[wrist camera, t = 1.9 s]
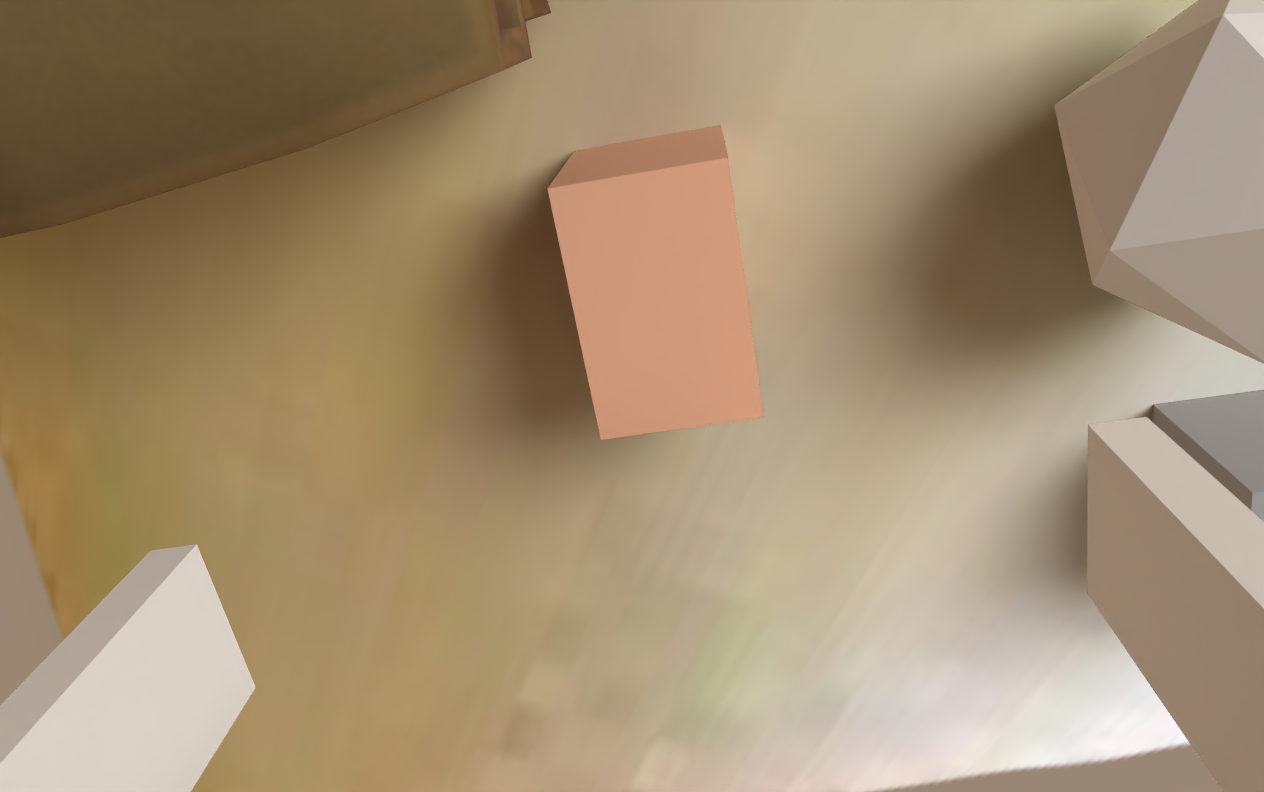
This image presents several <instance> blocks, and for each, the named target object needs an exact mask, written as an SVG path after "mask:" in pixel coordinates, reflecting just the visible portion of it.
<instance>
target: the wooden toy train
mask: <svg viewBox="0 0 1264 792" xmlns="http://www.w3.org/2000/svg"><path fill="white" fill-rule="evenodd" d="M549 13H551V11H550V8H549V5H548V1H547V0H0V238H2V237H6V236H11V235H15V234H20V233H24V232H29V231H33V230H38V229H43V228H47V227H52V226H56V225H61V224H65V223H68V222H71V221H74V220H77V219H81V218H84V217H87V216H90V215H93V214H97V213H100V212H103V211H106V210H110V209H113V208H116V207H119V206H122V205H126V204H129V203H132V202H135V201H139V200H142V199H145V198H148V197H151V196H155V195H158V194H161V193H164V192H167V191H171V190H174V189H177V188H180V187H184V186H187V185H190V184H193V183H196V182H200V181H203V180H206V179H209V178H213V177H216V176H219V175H222V174H225V173H229V172H232V171H235V170H238V169H241V168H245V167H248V166H251V165H254V164H258V163H261V162H264V161H267V160H270V159H274V158H277V157H280V156H283V155H287V154H290V153H293V152H296V151H299V150H303V149H306V148H308V147H311V146H313V145H316V144H318V143H321V142H323V141H326V140H328V139H331V138H333V137H336V136H339V135H341V134H344V133H346V132H349V131H351V130H354V129H356V128H359V127H361V126H364V125H366V124H369V123H371V122H374V121H376V120H379V119H381V118H384V117H386V116H389V115H391V114H394V113H396V112H399V111H402V110H404V109H407V108H409V107H412V106H414V105H417V104H419V103H422V102H424V101H427V100H429V99H432V98H434V97H437V96H439V95H442V94H444V93H447V92H449V91H452V90H454V89H457V88H460V87H462V86H465V85H467V84H470V83H472V82H475V81H477V80H480V79H482V78H485V77H487V76H490V75H492V74H495V73H497V72H500V71H502V70H505V69H507V68H509V67H512V66H514V65H516V64H518V63H521V62H523V61H525V60H528V59H530V58H532V56H531V51H530V45H529V40H528V34H527V29H526V23H525V21H527V20H530V19H533V18H536V17H540V16H543V15H546V14H549Z"/></svg>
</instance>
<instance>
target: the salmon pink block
mask: <svg viewBox="0 0 1264 792" xmlns="http://www.w3.org/2000/svg"><path fill="white" fill-rule="evenodd" d="M547 189H548V194H549V199H550V203H551V208H552V213H553V217H554V222H555V227H556V231H557V236H558V241H559V246H560V250H561V255H562V260H563V264H564V269H565V274H566V278H567V283H568V288H569V293H570V297H571V302H572V307H573V311H574V316H575V321H576V325H577V330H578V335H579V339H580V344H581V349H582V354H583V358H584V363H585V368H586V372H587V377H588V382H589V386H590V391H591V396H592V401H593V405H594V410H595V415H596V419H597V424H598V429H599V433H600V438H601V440H604V439H611V438H618V437H626V436H633V435H640V434H647V433H655V432H662V431H669V430H676V429H684V428H691V427H698V426H706V425H713V424H720V423H727V422H735V421H742V420H749V419H757V418H764V416H763V409H762V401H761V394H760V387H759V379H758V372H757V365H756V357H755V350H754V343H753V335H752V328H751V321H750V313H749V306H748V299H747V292H746V284H745V277H744V270H743V262H742V255H741V248H740V240H739V233H738V226H737V218H736V211H735V204H734V196H733V189H732V182H731V174H730V167H729V160H728V155H727V150H726V146H725V141H724V137H723V133H722V128H721V125H719V126H713V127H707V128H702V129H696V130H690V131H685V132H679V133H673V134H668V135H662V136H656V137H651V138H645V139H639V140H634V141H628V142H622V143H617V144H611V145H605V146H600V147H594V148H588V149H583V150H577V151H574V152H573V154H572V155H571V156H570V158H569V159H568V161H567V162H566V163H565V165H564V166H563V168H562V169H561V170H560V172H559V173H558V175H557V176H556V177H555V179H554V180H553V181H552V183H551V184H550V186H549V187H548V188H547Z"/></svg>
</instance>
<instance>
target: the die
mask: <svg viewBox="0 0 1264 792" xmlns="http://www.w3.org/2000/svg"><path fill="white" fill-rule="evenodd" d="M1054 107H1055V112H1056V116H1057V121H1058V126H1059V131H1060V135H1061V140H1062V145H1063V150H1064V154H1065V159H1066V164H1067V168H1068V173H1069V178H1070V183H1071V187H1072V192H1073V197H1074V201H1075V206H1076V211H1077V216H1078V220H1079V225H1080V230H1081V235H1082V239H1083V244H1084V249H1085V253H1086V258H1087V263H1088V268H1089V272H1090V277H1091V282H1092V285H1094V286H1096V287H1098V288H1100V289H1102V290H1105V291H1107V292H1109V293H1111V294H1113V295H1115V296H1118V297H1120V298H1122V299H1124V300H1126V301H1129V302H1131V303H1133V304H1135V305H1137V306H1140V307H1142V308H1144V309H1146V310H1148V311H1150V312H1153V313H1155V314H1157V315H1159V316H1161V317H1164V318H1166V319H1168V320H1170V321H1172V322H1174V323H1177V324H1179V325H1181V326H1183V327H1185V328H1188V329H1190V330H1192V331H1194V332H1196V333H1198V334H1201V335H1203V336H1205V337H1207V338H1209V339H1212V340H1214V341H1216V342H1218V343H1220V344H1222V345H1225V346H1227V347H1229V348H1231V349H1233V350H1236V351H1238V352H1240V353H1242V354H1244V355H1246V356H1249V357H1251V358H1253V359H1255V360H1257V361H1260V362H1262V363H1264V0H1198V1H1197V2H1195V3H1194V4H1193V5H1191V6H1190V7H1189V8H1187V9H1186V10H1184V11H1183V12H1182V13H1180V14H1179V15H1178V16H1176V17H1175V18H1173V19H1172V20H1171V21H1169V22H1168V23H1167V24H1165V25H1164V26H1162V27H1161V28H1160V29H1158V30H1157V31H1156V32H1154V33H1153V34H1151V35H1150V36H1149V37H1147V38H1146V39H1145V40H1143V41H1142V42H1140V43H1139V44H1138V45H1136V46H1135V47H1134V48H1132V49H1131V50H1129V51H1128V52H1127V53H1125V54H1124V55H1123V56H1121V57H1120V58H1119V59H1117V60H1116V61H1114V62H1113V63H1112V64H1110V65H1109V66H1108V67H1106V68H1105V69H1103V70H1102V71H1101V72H1099V73H1098V74H1097V75H1095V76H1094V77H1092V78H1091V79H1090V80H1088V81H1087V82H1086V83H1084V84H1083V85H1081V86H1080V87H1079V88H1077V89H1076V90H1075V91H1073V92H1072V93H1070V94H1069V95H1068V96H1066V97H1065V98H1064V99H1062V100H1061V101H1059V102H1058V103H1057V104H1055V105H1054Z"/></svg>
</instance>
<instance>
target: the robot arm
mask: <svg viewBox="0 0 1264 792" xmlns="http://www.w3.org/2000/svg"><path fill="white" fill-rule="evenodd" d="M1087 593H1088V595H1089V596H1090V597H1091V599H1092V600H1093V602H1094V603H1095V605H1096V606H1097V608H1098V609H1099V611H1100V612H1101V614H1102V615H1103V617H1104V618H1105V619H1106V621H1107V622H1108V624H1109V625H1110V627H1111V628H1112V630H1113V631H1114V633H1115V634H1116V636H1117V637H1118V639H1119V640H1120V641H1121V643H1122V644H1123V646H1124V647H1125V649H1126V650H1127V652H1128V653H1129V655H1130V656H1131V658H1132V659H1133V660H1134V662H1135V663H1136V665H1137V666H1138V668H1139V669H1140V671H1141V672H1142V674H1143V675H1144V677H1145V678H1146V680H1147V681H1148V682H1149V684H1150V685H1151V687H1152V688H1153V690H1154V691H1155V693H1156V694H1157V696H1158V697H1159V699H1160V700H1161V702H1162V703H1163V704H1164V706H1165V707H1166V709H1167V710H1168V712H1169V713H1170V715H1171V716H1172V718H1173V719H1174V721H1175V722H1176V723H1177V725H1178V726H1179V728H1180V729H1181V731H1182V732H1183V734H1184V735H1185V737H1186V738H1187V740H1188V741H1189V743H1190V744H1191V745H1192V747H1193V748H1194V750H1195V751H1196V753H1197V754H1198V756H1199V757H1200V759H1201V760H1202V762H1203V763H1204V764H1205V766H1206V767H1207V769H1208V770H1209V772H1210V773H1211V775H1212V776H1213V778H1214V779H1215V781H1216V782H1217V784H1218V785H1219V786H1220V788H1221V789H1222V791H1223V792H1264V522H1263V521H1262V520H1261V519H1260V518H1259V517H1258V516H1257V515H1255V514H1254V513H1253V512H1252V511H1251V510H1250V509H1249V508H1248V507H1247V506H1245V505H1244V504H1243V503H1242V502H1241V501H1240V500H1239V499H1238V498H1237V497H1235V496H1234V495H1233V494H1232V493H1231V492H1230V491H1229V490H1228V489H1226V488H1225V487H1224V486H1223V485H1222V484H1221V483H1220V482H1219V481H1218V480H1216V479H1215V478H1214V477H1213V476H1212V475H1211V474H1210V473H1209V472H1208V471H1206V470H1205V469H1204V468H1203V467H1202V466H1201V465H1200V464H1199V463H1197V462H1196V461H1195V460H1194V459H1193V458H1192V457H1191V456H1190V455H1189V454H1187V453H1186V452H1185V451H1184V450H1183V449H1182V448H1181V447H1180V446H1179V445H1177V444H1176V443H1175V442H1174V441H1173V440H1172V439H1171V438H1170V437H1169V436H1167V435H1166V434H1165V433H1164V432H1163V431H1162V430H1161V429H1160V428H1158V427H1157V426H1156V425H1155V424H1154V423H1153V422H1152V421H1151V420H1150V419H1148V418H1147V417H1141V418H1134V419H1126V420H1119V421H1111V422H1104V423H1096V424H1089V425H1088V501H1087ZM255 688H256V687H255V685H254V683H253V680H252V678H251V675H250V673H249V670H248V668H247V666H246V663H245V661H244V658H243V656H242V653H241V651H240V649H239V646H238V644H237V641H236V639H235V636H234V634H233V632H232V629H231V627H230V624H229V622H228V619H227V617H226V614H225V612H224V610H223V607H222V605H221V602H220V600H219V597H218V595H217V593H216V590H215V588H214V585H213V583H212V580H211V578H210V576H209V573H208V571H207V568H206V566H205V563H204V561H203V559H202V556H201V554H200V551H199V549H198V546H197V544H196V545H189V546H181V547H174V548H166V549H159V550H152V551H150V552H149V553H148V554H147V555H146V556H145V557H144V558H143V559H142V560H141V561H140V562H139V563H138V564H137V565H136V566H135V567H134V568H133V569H132V570H131V571H130V572H129V573H128V574H127V575H126V576H125V577H124V578H123V579H122V580H121V581H120V583H119V584H118V585H117V586H116V587H115V588H114V589H113V590H112V591H111V592H110V593H109V594H108V595H107V596H106V597H105V598H104V599H103V600H102V601H101V602H100V603H99V604H98V605H97V606H96V607H95V608H94V609H93V610H92V611H91V612H90V613H89V614H88V615H87V616H86V618H85V619H84V620H83V621H82V622H81V623H80V624H79V625H78V626H77V627H76V628H75V629H74V630H73V631H72V632H71V633H70V634H69V635H68V636H67V637H66V638H65V639H64V640H63V641H62V642H61V643H60V644H59V645H58V646H57V648H55V649H54V650H53V652H52V653H51V654H50V655H49V656H48V657H47V658H46V659H45V660H44V661H43V662H42V663H41V664H40V665H39V666H38V667H37V668H36V669H35V670H34V671H33V672H32V673H31V674H30V675H29V676H28V677H27V678H26V679H25V680H24V681H23V682H22V684H21V685H19V686H18V688H17V689H16V690H15V691H14V692H13V693H12V694H11V695H10V696H9V697H8V698H7V699H6V700H5V701H4V702H3V703H2V704H1V705H0V792H191V790H192V789H193V787H194V785H195V784H196V782H197V781H198V779H199V777H200V776H201V774H202V773H203V771H204V769H205V768H206V766H207V765H208V763H209V761H210V760H211V758H212V757H213V755H214V753H215V752H216V750H217V749H218V747H219V745H220V744H221V742H222V740H223V739H224V737H225V736H226V734H227V732H228V731H229V729H230V728H231V726H232V724H233V723H234V721H235V720H236V718H237V716H238V715H239V713H240V712H241V710H242V708H243V707H244V705H245V704H246V702H247V700H248V699H249V697H250V696H251V694H252V692H253V691H254V689H255Z"/></svg>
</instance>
